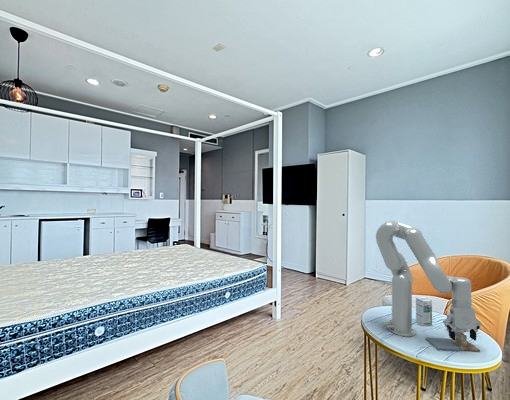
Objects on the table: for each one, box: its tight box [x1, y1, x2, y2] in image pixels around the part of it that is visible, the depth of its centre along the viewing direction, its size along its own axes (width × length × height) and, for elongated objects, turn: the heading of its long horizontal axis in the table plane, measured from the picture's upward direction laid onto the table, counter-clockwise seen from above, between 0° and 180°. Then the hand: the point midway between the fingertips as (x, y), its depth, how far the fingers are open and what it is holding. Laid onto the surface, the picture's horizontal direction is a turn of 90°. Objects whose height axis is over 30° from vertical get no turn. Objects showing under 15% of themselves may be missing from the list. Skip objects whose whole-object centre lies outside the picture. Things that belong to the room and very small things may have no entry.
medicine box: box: [446, 314, 465, 338], centre depth 140 cm, size 8×4×9 cm, turn 168°
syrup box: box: [415, 296, 433, 327], centre depth 152 cm, size 6×6×14 cm
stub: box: [448, 332, 481, 352], centre depth 127 cm, size 8×9×6 cm
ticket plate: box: [425, 337, 463, 353], centre depth 128 cm, size 11×10×1 cm
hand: (462, 338), depth 127 cm, fingers open, 9 cm apart
